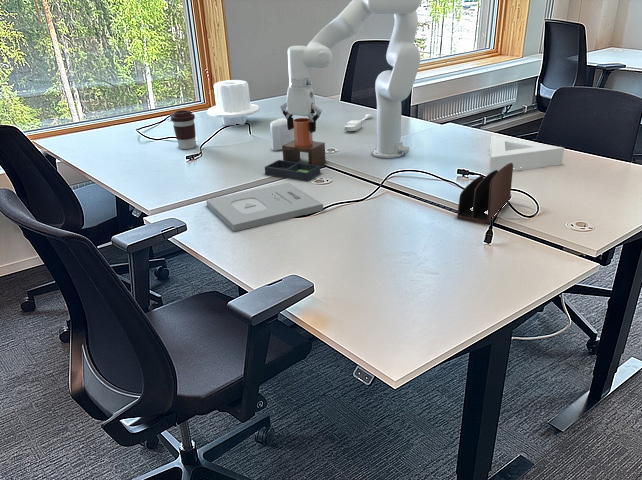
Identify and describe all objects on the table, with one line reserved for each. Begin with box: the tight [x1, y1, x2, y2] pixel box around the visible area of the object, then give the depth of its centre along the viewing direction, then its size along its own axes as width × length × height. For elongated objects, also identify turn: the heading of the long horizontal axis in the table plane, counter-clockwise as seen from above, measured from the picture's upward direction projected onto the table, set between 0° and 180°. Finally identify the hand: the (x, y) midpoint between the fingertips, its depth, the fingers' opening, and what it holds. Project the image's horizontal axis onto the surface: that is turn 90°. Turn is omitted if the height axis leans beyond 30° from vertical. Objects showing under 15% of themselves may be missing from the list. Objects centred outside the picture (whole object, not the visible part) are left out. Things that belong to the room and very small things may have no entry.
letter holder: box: [456, 163, 514, 225], centre depth 177 cm, size 10×20×14 cm, turn 148°
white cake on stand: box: [207, 79, 261, 127], centre depth 283 cm, size 25×25×19 cm
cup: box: [293, 117, 313, 147], centre depth 220 cm, size 7×7×9 cm
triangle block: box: [489, 134, 565, 174], centre depth 216 cm, size 30×26×6 cm
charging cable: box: [343, 113, 372, 132], centre depth 276 cm, size 5×32×3 cm, turn 160°
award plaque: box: [205, 182, 324, 232], centre depth 187 cm, size 25×30×2 cm
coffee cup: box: [170, 109, 197, 150], centre depth 248 cm, size 10×10×15 cm
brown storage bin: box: [281, 140, 326, 167], centre depth 224 cm, size 13×10×8 cm
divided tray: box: [264, 159, 321, 182], centre depth 216 cm, size 18×10×3 cm, turn 61°
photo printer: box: [269, 117, 294, 151], centre depth 243 cm, size 10×4×12 cm, turn 123°
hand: (301, 130), depth 219 cm, fingers open, 9 cm apart
